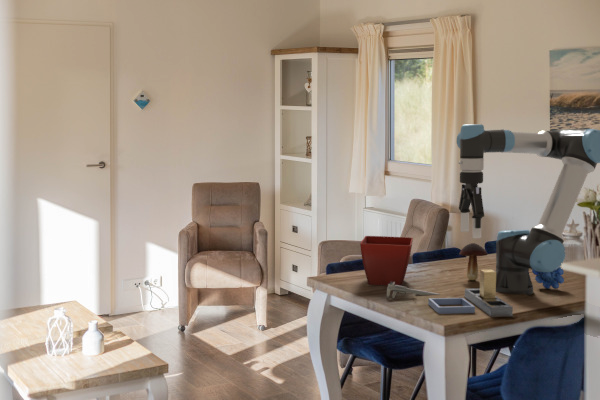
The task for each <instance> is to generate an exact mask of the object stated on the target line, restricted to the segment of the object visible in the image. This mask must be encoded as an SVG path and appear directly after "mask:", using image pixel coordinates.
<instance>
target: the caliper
mask: <svg viewBox="0 0 600 400" xmlns="http://www.w3.org/2000/svg"><path fill="white" fill-rule="evenodd" d="M394 284H395V282H393V283H392V282H390V284H388V286H386V297H387V299H389V298H390V294H391V291H392V294H391V299H395V297H396V295H397V293H399V294H401V295H407V294H413V295H419V296H436V295H437V296H439V295H441V294H440V293H436V292H432V291H425V290H420V289H414V288H408V286H405V285H402V286H399V285H395V286H394Z"/></svg>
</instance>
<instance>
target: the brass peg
mask: <svg viewBox="0 0 600 400" xmlns="http://www.w3.org/2000/svg"><path fill="white" fill-rule="evenodd" d="M479 271H480V272H479V288H480V298H481V299H495V296H497V294H496V293H497V292H496V272H495V271H496V270H494V269H480V270H479Z"/></svg>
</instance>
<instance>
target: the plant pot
mask: <svg viewBox="0 0 600 400" xmlns="http://www.w3.org/2000/svg"><path fill="white" fill-rule="evenodd" d="M413 240H414V239H413V237H408V236H407V237H405V236H404V237H403V236H385V235H384V236H383V235H380V236H379V235H365V236H364V237H363V239H362V240H361V242H360V243H359V244H360V253H361V259H362V265H363V270H364V273H365V277H366V280H367V284H368V285H369V286H370V285H371V286H384V287H385V286H386V287H388V284H390V282H392V283H393V282H395V284H394V286H395V285H399V286H403V284H404V281H405V277H406V273H407V271H408V267H409V261H410V257H411V253H412V246H413Z"/></svg>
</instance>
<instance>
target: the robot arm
mask: <svg viewBox="0 0 600 400" xmlns="http://www.w3.org/2000/svg"><path fill="white" fill-rule="evenodd" d="M456 144H457V148H458V149H459V156H460V158H459V160H458V164H459V170H460V172H459V183H460V184H461V193H460V197H459V204H458V205H459V206H458V211H460V232H461V233H462V232H463V233H469V232H470V213H471V210H472V216H471V218H472V235H471V236H472V239H482V228H483V227H482V226H483V225H482V221H483V220H482V218H484V217H485V212H484V211H485V210H484V203H483V196H482V187H480V186H479V185H478V184H482V183H483V182H484V171H483V170H484V167H485V166H484V165H485V164H484V161H485V160H484V159H485V158H484V153H485V154H486V153H508V154H509V153H510V154H529V155H531V154H534V155H537V156H538V157H541V158H550V159H555V160H556V159H557V160H561V161H562V164H563V165H562V168H561V171H560V172H559V175H558V177H557V180H556V182H555V185H554V187H553V189H552V192H551V193H550V196H549V197H548V201H547V203H546V205H545V208H544V210H543V212H542V215H541V217H540V219H539V221H538V224H537V225H536V226H532V227H531V229H530V230H529V229H510V230H509V229H508V230H506V229H505V230H500V231H498V232H497V235H496V240H495V241H496V244H495V245H496V247H495V248H496V250H495V251H496V253H495V254H496V255H495V256H496V257H495V259H496V260H495V270H494V271H495V272H496V293H503V294H511V295H512V294H514V295H524V294H525V295H527V296H530V295H533V294H534V286H533V282H532V279H531V275H530V270H532V269H533V270H536V271H539V272H552V271H554V270H556V269H558V268H559V267H560V268H561V266H562V264H563V263H564V261H565V258H566V247H565V246H564V242H565V238H564V237H563V232H564V230H565V228H566V226H567V224H568V221H569V219H570V217H571V214H572V212H573V209H574V207H575V204H576V201H577V200H578V197H579V195H580V194H581V193H580V192H581V191H582V188H583V185H584V183H585V181H586V178H587V177H588V174H590V173H593V172H594V171H595V170H596V167H597V164H600V129H596V128H584V129H583V128H565V129H564V128H562V129H555V130H541V131H539V132H523V131H512V130H509V129H504V128H503V129H485V126H484V124H482V123H481V124H477V123H475V124H473V123H471V124H470V123H469V124H462V126H461V127H460V132H459V133H458V134H457V136H456ZM470 206H471V210H470ZM561 263H562V264H561Z"/></svg>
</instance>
